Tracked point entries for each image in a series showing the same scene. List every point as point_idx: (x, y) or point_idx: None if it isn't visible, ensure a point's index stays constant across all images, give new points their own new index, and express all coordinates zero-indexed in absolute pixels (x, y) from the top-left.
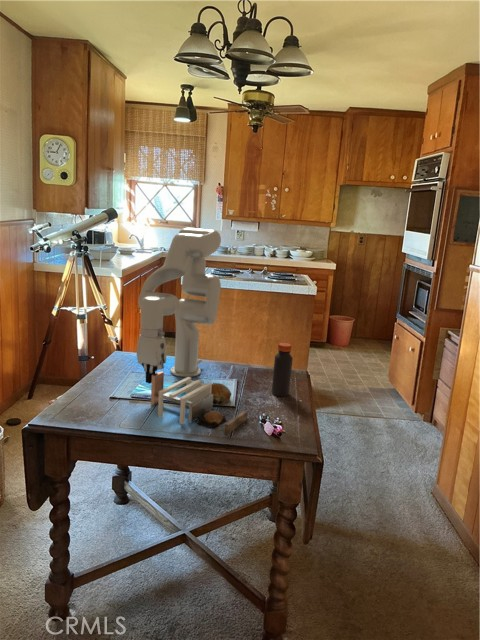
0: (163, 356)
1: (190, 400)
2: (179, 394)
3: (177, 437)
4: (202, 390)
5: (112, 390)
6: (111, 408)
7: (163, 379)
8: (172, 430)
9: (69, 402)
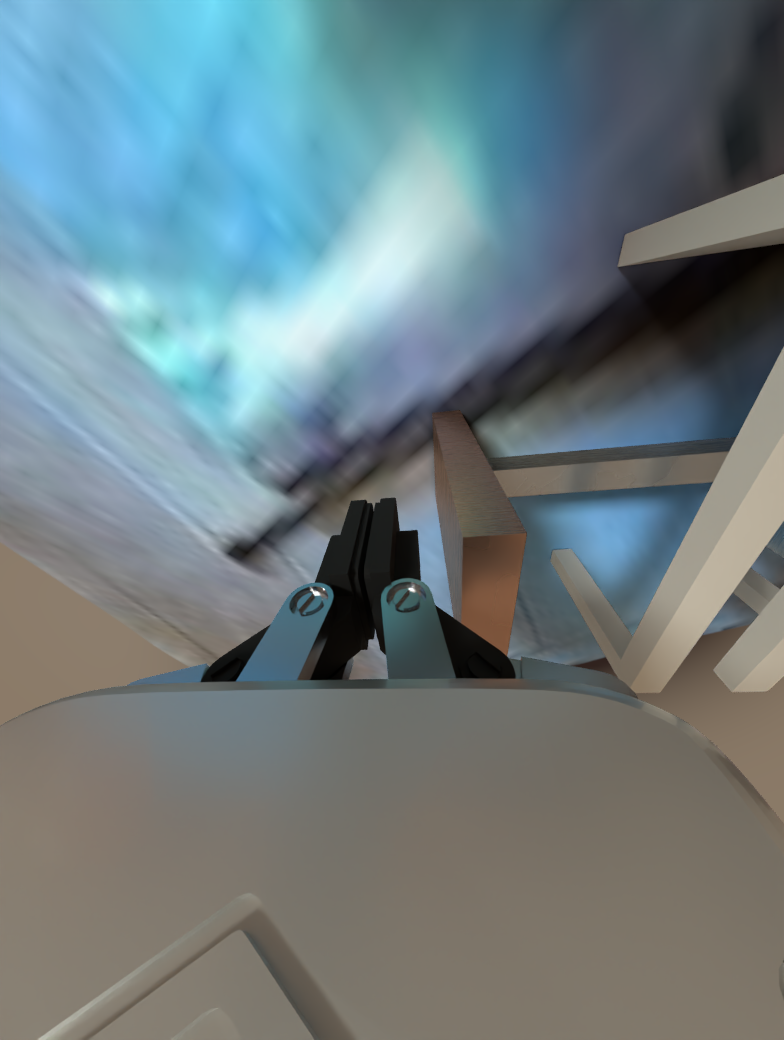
0: (718, 1020)
1: (688, 256)
2: None
3: (711, 626)
4: None
5: (141, 498)
6: None
7: (496, 480)
8: None
9: (202, 651)
